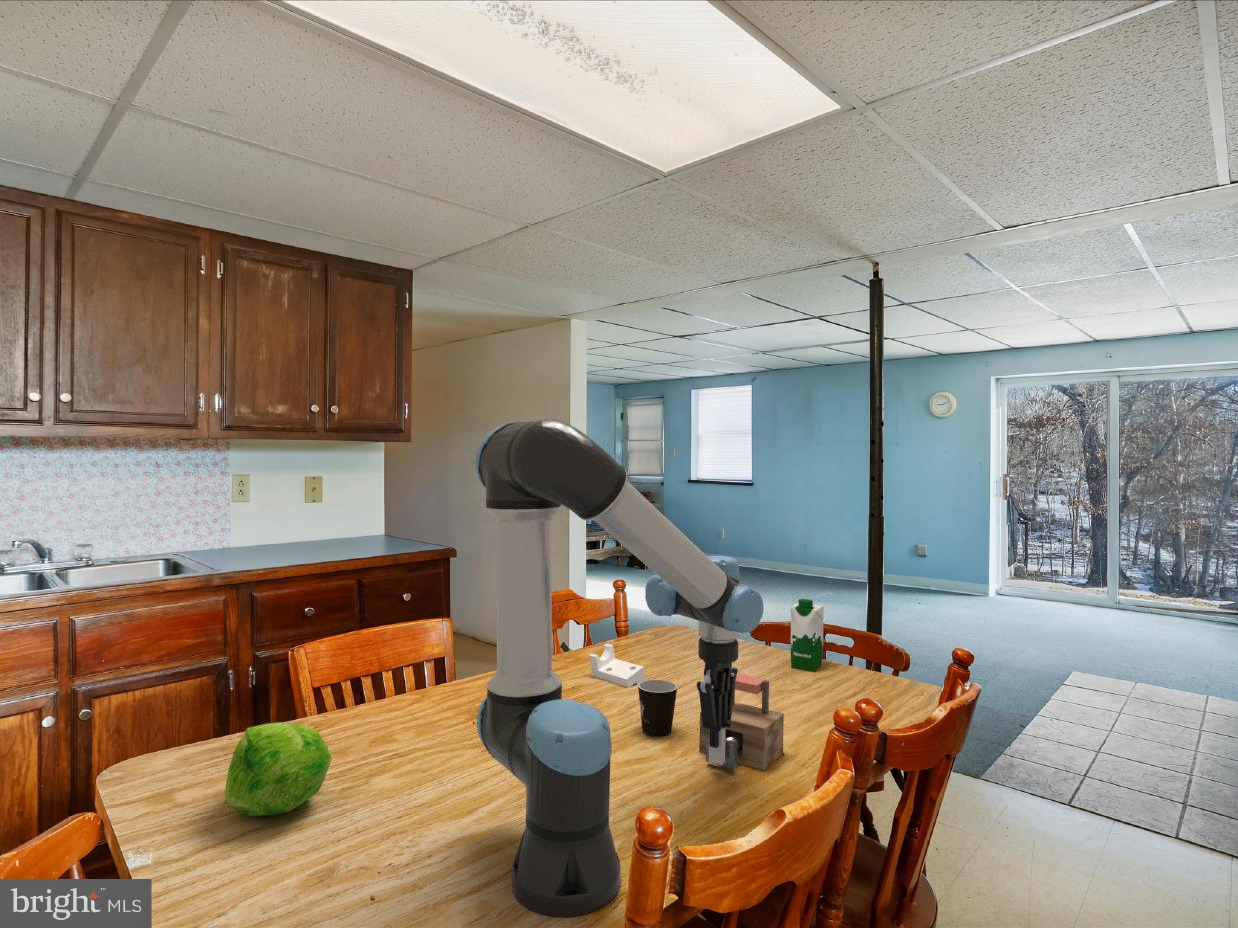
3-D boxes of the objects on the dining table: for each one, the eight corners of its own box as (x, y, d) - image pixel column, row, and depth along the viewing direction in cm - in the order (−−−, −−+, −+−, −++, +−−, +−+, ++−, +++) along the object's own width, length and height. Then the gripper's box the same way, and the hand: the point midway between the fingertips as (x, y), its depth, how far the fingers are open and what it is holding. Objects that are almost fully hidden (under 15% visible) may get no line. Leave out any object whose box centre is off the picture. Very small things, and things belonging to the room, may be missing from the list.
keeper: (757, 694, 135) (757, 685, 135) (729, 688, 138) (730, 679, 138) (766, 687, 139) (766, 679, 139) (739, 682, 142) (740, 673, 142)
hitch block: (763, 770, 128) (765, 695, 128) (699, 751, 136) (700, 680, 136) (783, 752, 136) (784, 681, 136) (720, 735, 144) (722, 668, 144)
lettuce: (296, 773, 124) (319, 702, 124) (322, 838, 108) (349, 757, 108) (207, 775, 115) (233, 699, 115) (222, 846, 99) (252, 758, 99)
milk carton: (787, 668, 194) (788, 599, 194) (796, 660, 202) (797, 594, 202) (817, 673, 189) (818, 603, 189) (825, 665, 197) (826, 598, 197)
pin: (734, 769, 126) (734, 744, 126) (705, 761, 130) (706, 736, 130) (765, 743, 139) (765, 720, 139) (738, 735, 142) (739, 713, 142)
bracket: (593, 680, 183) (589, 654, 182) (610, 668, 188) (606, 643, 187) (628, 691, 175) (624, 665, 173) (645, 678, 180) (641, 653, 178)
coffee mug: (673, 741, 141) (674, 693, 141) (634, 736, 143) (634, 690, 143) (680, 720, 152) (680, 677, 152) (642, 717, 154) (643, 673, 154)
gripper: (721, 648, 119) (719, 780, 119) (750, 634, 130) (749, 754, 130) (684, 642, 123) (682, 769, 123) (716, 628, 134) (714, 745, 134)
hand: (716, 761), depth 126 cm, fingers closed
